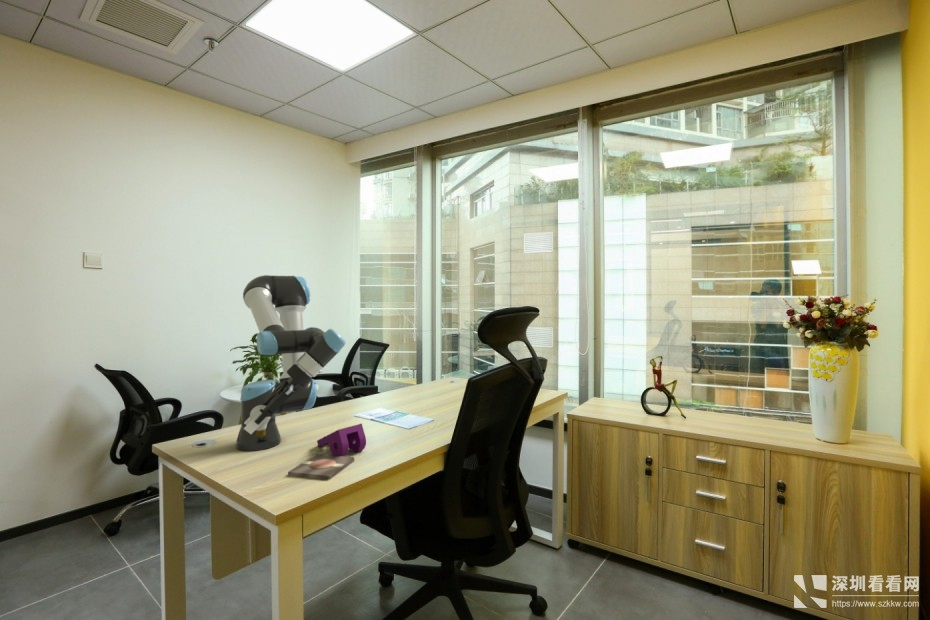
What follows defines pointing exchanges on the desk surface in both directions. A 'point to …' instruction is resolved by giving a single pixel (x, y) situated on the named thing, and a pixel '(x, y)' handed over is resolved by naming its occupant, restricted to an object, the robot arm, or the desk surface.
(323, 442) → the mounting bracket
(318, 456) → the board
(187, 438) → the desk surface
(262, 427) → the light bulb
